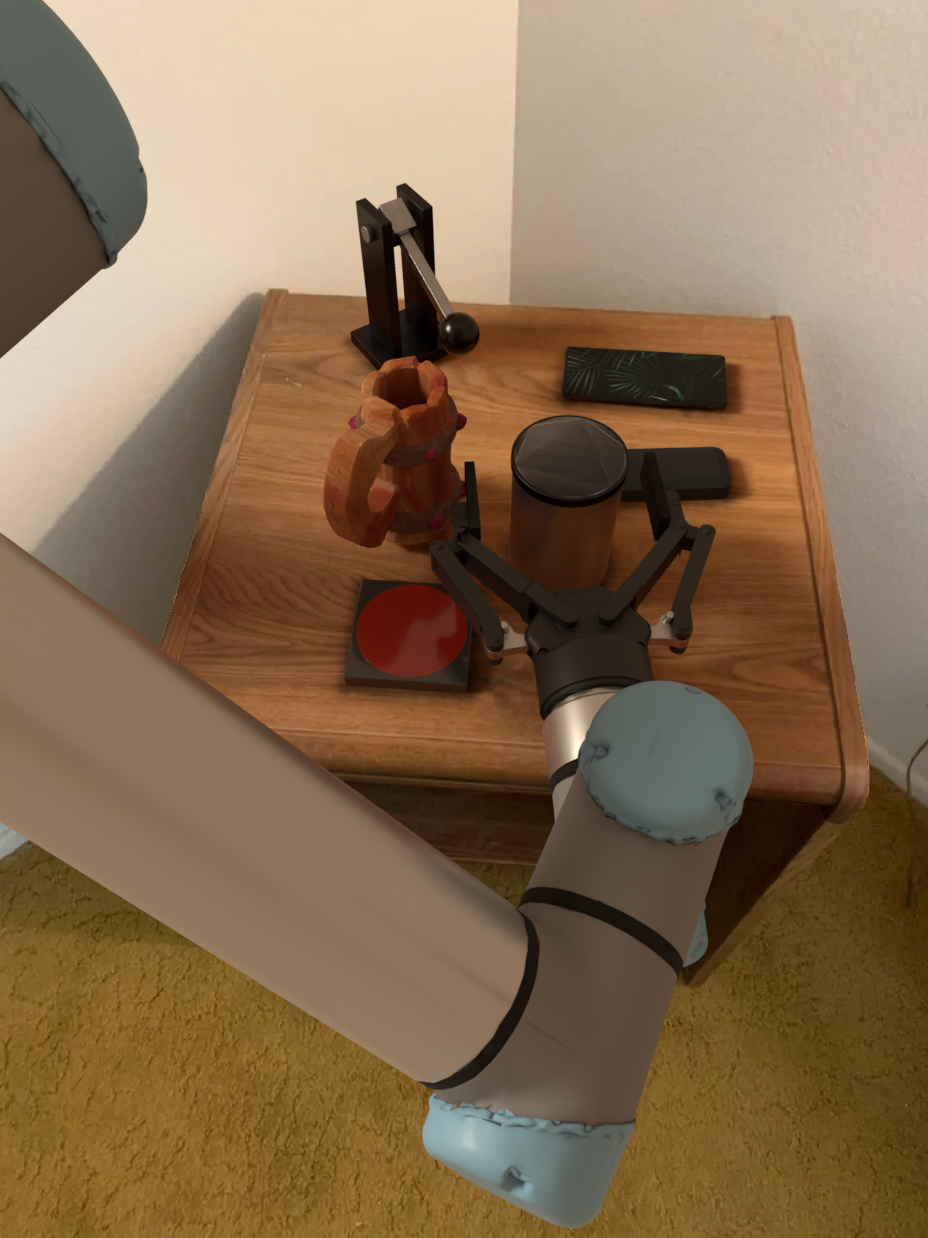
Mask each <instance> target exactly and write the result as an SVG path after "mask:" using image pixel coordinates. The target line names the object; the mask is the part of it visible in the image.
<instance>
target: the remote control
mask: <svg viewBox="0 0 928 1238" xmlns="http://www.w3.org/2000/svg"><path fill="white" fill-rule="evenodd" d="M627 450H628V453H629V468H628V473H627V477H626V480H625V482H624V484H623V488H622V493H621V498H620V502H627V501H628V502H630V501H645V498H644V494H643V490H642V485H641V481H640V477H639V476H640V472H641V467H642V462H643V458H644V453H645V452H651V451H655V455H656V458H657V462H658V466H659V470H660V474H661V478H662V482H663V486H664V490H675V491H676V492H677V493H678V495H679V498H680V500H694V499H695V500H698V499H699V500H701V499H702V500H703V499H724V498H728V497H729V496H730V495H731V491H732V475H731V471H730V468H729V463H728V460H727V456H726V453H725V452H724V449H721V448H720V447H717V446H688V447H687V446H683V447H650V448H649V447H647V448H645V447H644V448H627Z"/></svg>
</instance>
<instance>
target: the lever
mask: <svg viewBox="0 0 928 1238" xmlns="http://www.w3.org/2000/svg"><path fill="white" fill-rule="evenodd" d="M377 209H378V210H379V211H380V212H381V213H382V214H383V215H385V216H386V217H387V218H388V219H389V220H390V221H391V222H392V231H393V243H394V248H397V247H399V248H400V251H401V250H402V252H403V253H404V255H405V257H406V259H407V260H408V262H409V264H410V266H411V267H412V269H413V271H414V273H415V274H416V276H417V278H418V280H419V281H420V283H421V285H422V287H423V288H424V290H425V292H426V294H427V295H428V297H429V299H430V301H431V302H432V304H433V306H434V308H435V309H436V311H437V316H439V318H440V320H441V321H440V325H439V328H438V340H439V343H440V345H441V346H442V348H443V349H444V350H445V351H446V352H448V353H449V355H452V356H455V357H463V356H466V355H468V354H471V352H473V351H474V350H475V349H476V347H477V346H478V344H479V341H480V338H481V337H480V336H481V332H480V327H479V326H480V325H479V324H478V322H477V320H476V319H475V318H474V317H473V316H472V315H470V313H469V314H468V312H464V311H455V309H454V307H453V305H452V303H451V302H450V300H449V298H448V296H447V295H446V293H445V291H444V290H443V288H442V285H441V284H440V282H439V280H438V278H437V276H436V274H435V275H434V274H433V272H432V270H431V268H430V267H429V265H428V263H427V261H426V260H425V258H424V256H423V254H422V253H421V251H420V249H419V247H418V246H417V244H416V242H415V240H414V239H413V234H414V232H415V229H416V226H417V224H416V223H415V221H414V219H413V217H412V216H411V214H410V212H409V210H408V209H407V207H406V205H405V203H404V202H403V200H402V198H401V197H400V198H397V197H396V198H395V199H392V200H389V201H387V202H383V203H381V204H379V205H378V208H377Z"/></svg>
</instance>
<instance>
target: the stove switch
mask: <svg viewBox="0 0 928 1238" xmlns="http://www.w3.org/2000/svg"><path fill="white" fill-rule="evenodd" d="M395 190H396V191H395V192H396V199H397V198H400V197H401V198H402V200H403V202H404V203H405V205H406V207H407V209H408V210H409V212H410V214H411V216H412V217H413V219H414V221H415V223H416V224H417V226H416V229H415V232H414V234H413V239H414V240H415V242H416V244H417V246H418V247H419V249H420V251H421V253H422V254H423V256H424V258H425V260H426V261H427V263H428V265H429V267H430V268H431V270H432V272H433V274H434V275H435V276H436V261H435V260H436V255H435V233H434V232H435V231H434V230H435V229H434V208H433V207H434V206H433V205H432V204H431V203H430V202H428V200H426V199H425V198H424V197H422V196H421V194H419V193H418V192H417V191H415V189H414V188H412V187H411V186H410V185H409V184H408V183H406V182H403V183H401V184H398V185H395ZM355 208H356V216H357V226H358V235H359V244H360V252H361V260H362V269H363V271H362V272H363V280H364V288H365V299H366V306H367V315H368V323H367V324H365V325H363V326H360V327H358V328H356V329H353V330H351V331H350V332H349V335H350V341H351V343H352V345H354V346H355V347H356V349H357V350H358V351H359V352H360V353H361V354H362V355H363V356H364V357H365V358H366V359H367V360H368V361H369V362H370V363H371V365H372V366H373V367H374V368H375V369H376V371H379V370H380V369H381V368H382V366H383V364H384V363H385V362H386V361H388V360H393V359H399V358H404V357H411V356H416V358H417V360H418V362H419V363H423V362H424V361H426V360H428V361H430V362H431V363H434V362H436V361H438V360H441V359H442V358H445V357H447V356H449V355H450V354H449V353H448V352H446V351H445V350H444V349H443V348H442V346H441V345H440V343H439V340H438V328H439V325H440V323H441V321H440V320H439V319H438V313H437V311H436V309H435V308H434V306H433V304H432V302H431V301H430V299H429V297H428V295H427V294H426V292H425V290H424V288H423V287H422V285H421V283H420V281H419V280H418V278H417V276H416V274H415V273H414V271H413V269H412V267H411V266H410V264H409V262H408V260H407V259H406V257H405V255H404V253H403V252H402V250H401V249H400V259H401V260H400V261H401V271H402V273H401V274H402V287H403V299H404V301H403V302H404V308H403V309H401V310H400V308H399V307H400V306H399V305H400V304H399V295H398V283H397V282H398V279H397V270H396V268H397V267H396V257H395V247H394V243H393V231H392V222H391V221H390V220H389V219H388V218H387V217H386V216H385V215H383V214H382V213H381V212H380V211H379V210H378V208H377V207H376V206H375V205H374V204H373V203H372V202H371V201H370V200H368V198H366V197H362V198H360V199H358V200H356V201H355Z"/></svg>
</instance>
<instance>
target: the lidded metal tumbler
mask: <svg viewBox="0 0 928 1238" xmlns="http://www.w3.org/2000/svg"><path fill="white" fill-rule="evenodd" d="M627 449H628V447H627V445H626V443H625V442H624V440H623V438H622V437H621V435H619V434H618V432H616V431H615V430H614V429H612V428H611V427H610V426H608V425H607V424H605V423H603V422H601V421H599V420H597V419H594V418H590V417H587V416H582V415H575V414H560V415H559V414H558V415H552V416H547V417H544V418H541V419H538V420H536V421H534V422H532V423H530V424H529V425H528V426H526V427H525V428H523V430H521V432H520V433H518V435H517V437H516V438H515V440H514V441H513V443H512V446H511V450H510V451H511V452H510V470H511V487H510V488H511V489H510V507H509V508H510V509H509V526H508V527H509V530H508V549H507V563H508V564H509V565H511V566H512V567H513V568H514V569H516V570H517V571H518V572H519V573H521V574H522V575H523V576H524V577H526V578H527V579H528V580H530V581H531V582H538V583H539V584H541V585H542V586H543V587H544V588H546V589H547V590H548V591H549V592H551V593H552V594H554V593H557V592H558V591H559V589H560V588H574V589H580V590H583V589H586V588H590V587H595V586H600V584H601V583H602V582H603V581H604V579H605V576H606V574H607V569H608V565H609V560H610V554H611V549H612V545H613V539H614V535H615V529H616V523H617V519H618V514H619V509H620V503H621V501H620V498H621V493H622V488H623V484H624V482H625V480H626V477H627V473H628V468H629V453H628V450H627Z"/></svg>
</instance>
